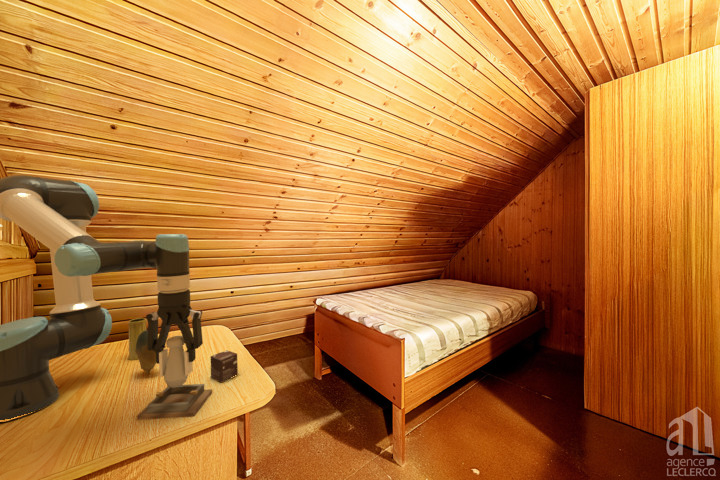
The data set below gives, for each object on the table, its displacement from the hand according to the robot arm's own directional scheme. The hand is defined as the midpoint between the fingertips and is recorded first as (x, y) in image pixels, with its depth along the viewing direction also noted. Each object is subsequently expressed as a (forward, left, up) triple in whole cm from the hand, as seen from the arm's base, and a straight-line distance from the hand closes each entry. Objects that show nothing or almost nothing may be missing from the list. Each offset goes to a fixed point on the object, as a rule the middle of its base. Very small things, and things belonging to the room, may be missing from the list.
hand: (176, 373), depth 80 cm
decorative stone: (-19, +19, -9) cm, 28 cm away
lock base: (0, 0, -9) cm, 9 cm away
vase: (-32, +34, -9) cm, 48 cm away
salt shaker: (0, 0, -3) cm, 3 cm away
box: (+7, +15, -9) cm, 19 cm away
